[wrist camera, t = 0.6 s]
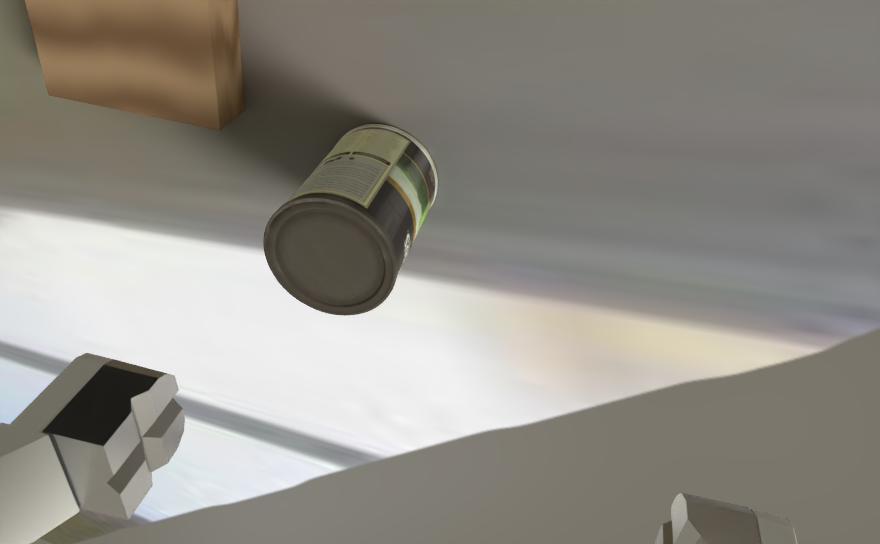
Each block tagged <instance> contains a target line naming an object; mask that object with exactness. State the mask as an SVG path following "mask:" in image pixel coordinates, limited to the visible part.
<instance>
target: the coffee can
mask: <svg viewBox="0 0 880 544" xmlns="http://www.w3.org/2000/svg"><path fill="white" fill-rule="evenodd" d="M437 187H438V178H437V172H436V168H435V165H434V163H433V161H432V159H431V157H430V155H429V154H428V152H427V151H426V149H425V148H424V147H423V146H422V145H421V143H419V142H418V141H417V140H416V139H415V138H414V137H413V136H411V135H410V134H408V133H406V132H404V131H402V130H400V129H398V128H395V127H392V126H388V125H382V124H367V125H363V126H360V127H357V128H354V129H352V130H351V131H349V132H347V133H346V134H345V135H344V136H343V137H341V139H340V140H339V141H338V142H337V144H336V145H335V147H334V148H333V149H332V150H331V152H330V153H329V154H328V155H327V156H326V157H325V159H324V160H323V161H322V162H321V163H320V164H319V166H318V167H317V168H316V169H315V170H314V171H313V172H312V174H311V175H310V176H309V177H308V178H307V179H306V181H305V182H304V183H303V184H302V185H301V186H300V187H299V189H298V190H297V191H296V192H295V193H294V194H293V196H292V197H291V198H290V199H289V200H288V201H287V202H286V203H285V204H284V205H283V206H281V207H280V208H279V209H278V210H277V211H276V212H275V213H274V214H273V216H272V217H271V218H270V220H269V222H268V224H267V226H266V229H265V233H264V252H265V256H266V260H267V262H268V265H269V267H270V269H271V271H272V273H273V274H274V276H275V277H276V279H277V280H278V282H279V283H280V284H281V285H282V286H283V288H284V289H285V290H287V291H288V292H289V293H290V294H291V295H292V296H293V297H295V298H296V299H298V300H299V301H301V302H302V303H304V304H306V305H308V306H310V307H312V308H314V309H316V310H319V311H322V312H325V313H329V314H335V315H355V314H361V313H365V312H368V311H370V310H372V309H374V308H376V307H377V306H379V305H380V304H381V303H382V302H383V301H384V300H385V299H386V298H387V297H388V296H389V294H390V292H391V291H392V289H393V287H394V284H395V281H396V278H397V275H398V272H399V270H400V269H401V266H402V264H403V262H404V260H405V258H406V256H407V254H408V252H409V250H410V248H411V246H412V243H413V241H414V239H415V237H416V235H417V233H418V231H419V229H420V227H421V225H422V223H423V221H424V219H425V217H426V215H427V213H428V211H429V209H430V208H431V206H432V204H433V202H434V200H435V197H436V194H437Z"/></svg>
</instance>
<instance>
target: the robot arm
mask: <svg viewBox="0 0 880 544" xmlns="http://www.w3.org/2000/svg"><path fill="white" fill-rule="evenodd" d="M177 391H178V386H177V383H176V379H175V376H174V375H170V374H167V373H163V372H159V371H155V370H152V369H148V368H144V367H140V366H136V365H133V364H129V363H125V362H121V361H118V360H114V359H109V358H105V357H101V356H97V355H93V354H89V353H86V354H84V355H81V356H79V357H77V358H75V359H74V360H73V361H72V362H71V363H70V364H69V365H68V366H67V367H66V368H65V369H64V370H63V371H62V372H61V373H60V374H59V375H58V376H57V377H56V378H55V379H54V380H53V381H52V382H51V383H50V384H49V385H48V386H47V387H46V388H45V389H44V390H43V391H42V392H41V393H40V394H39V396H38V397H37V398H36V399H35V400H34V401H33V402H32V403H31V404H30V405H29V406H28V407H27V408H26V409H25V410H24V411H23V412H22V413H21V414H20V415H19V416H18V417H17V418H16V419H15V420H14V421H13V422H12V423H11V424H6V423H0V544H31V543H32V542H34V541H35V540H37V539H38V538H40V537H41V536H43V535H45V534H46V533H48V532H49V531H51V530H52V529H54V528H55V527H57V526H58V525H60V524H61V523H63V522H64V521H66V520H67V519H69V518H70V517H72V516H73V515H75V514H76V513H78V512H79V511H80V510H79V508H80V509H85V510H89V511H93V512H97V513H101V514H106V515H110V516H114V517H118V518H123V519H127V520H129V518H130V517H131V516H132V514H133V513H134V511H135V510H136V508H137V507H138V506H139V504H140V503H141V501H142V500H143V498H144V497H145V495H146V494H147V493H148V491H149V490H150V488H151V487H152V473H151V472H152V471H154V470H156V469H158V468H160V467H162V466H163V465H165V464H167V463H168V462H169V461H170V459H171V458H172V456H173V455H174V453H175V451H176V450H177V448H178V446H179V443H180V440H181V437H182V435H183V432H184V421H185V418H184V413H183V408H182V407H181V406H180V405H179V404H178V403H177V402H176V401H175V400H174V399H173V397H174V395H175V394H176V393H177ZM671 513H672V520H671V521H669V522H667V523H664V524H663V525H662V527H661V529H660V531H659V534H658V536H657V539H656V544H797V540H796V536H795V532H794V528H793V524H792V523H791V522H790V520H789V519H788V518H787V517H783V516H779V515H775V514H771V513H766V512H762V511H757V510H753V509H749V508H748V507H744V506H739V505H734V504H730V503H725V502H721V501H716V500H712V499H707V498H703V497H698V496H693V495H689V494H685V493H680V494H679V495H678V496H676V498H675V500H674V502H673V504H672V506H671Z"/></svg>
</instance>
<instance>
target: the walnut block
mask: <svg viewBox="0 0 880 544" xmlns="http://www.w3.org/2000/svg"><path fill="white" fill-rule="evenodd" d="M25 3H26V7H27V11H28V15H29V19H30V23H31V27H32V31H33V35H34V39H35V43H36V47H37V51H38V55H39V59H40V63H41V67H42V71H43V75H44V78H45V82H46V86H47V90H48V94H49V95H50V96H55V97H60V98H65V99H69V100H74V101H79V102H84V103H89V104H94V105H99V106H104V107H109V108H114V109H119V110H123V111H128V112H133V113H138V114H143V115H148V116H153V117H158V118H163V119H168V120H173V121H177V122H182V123H187V124H192V125H197V126H202V127H207V128H212V129H217V130H221V129H222V128H223V127H225V126H226V125H227V124H228V123H230V122H231V121H232V120H233V119H235V118H236V117H237V116H238V115H240V114H241V113H242V112H243V111H245V102H244V88H243V75H242V61H241V47H240V33H239V19H238V5H237V0H25Z"/></svg>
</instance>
